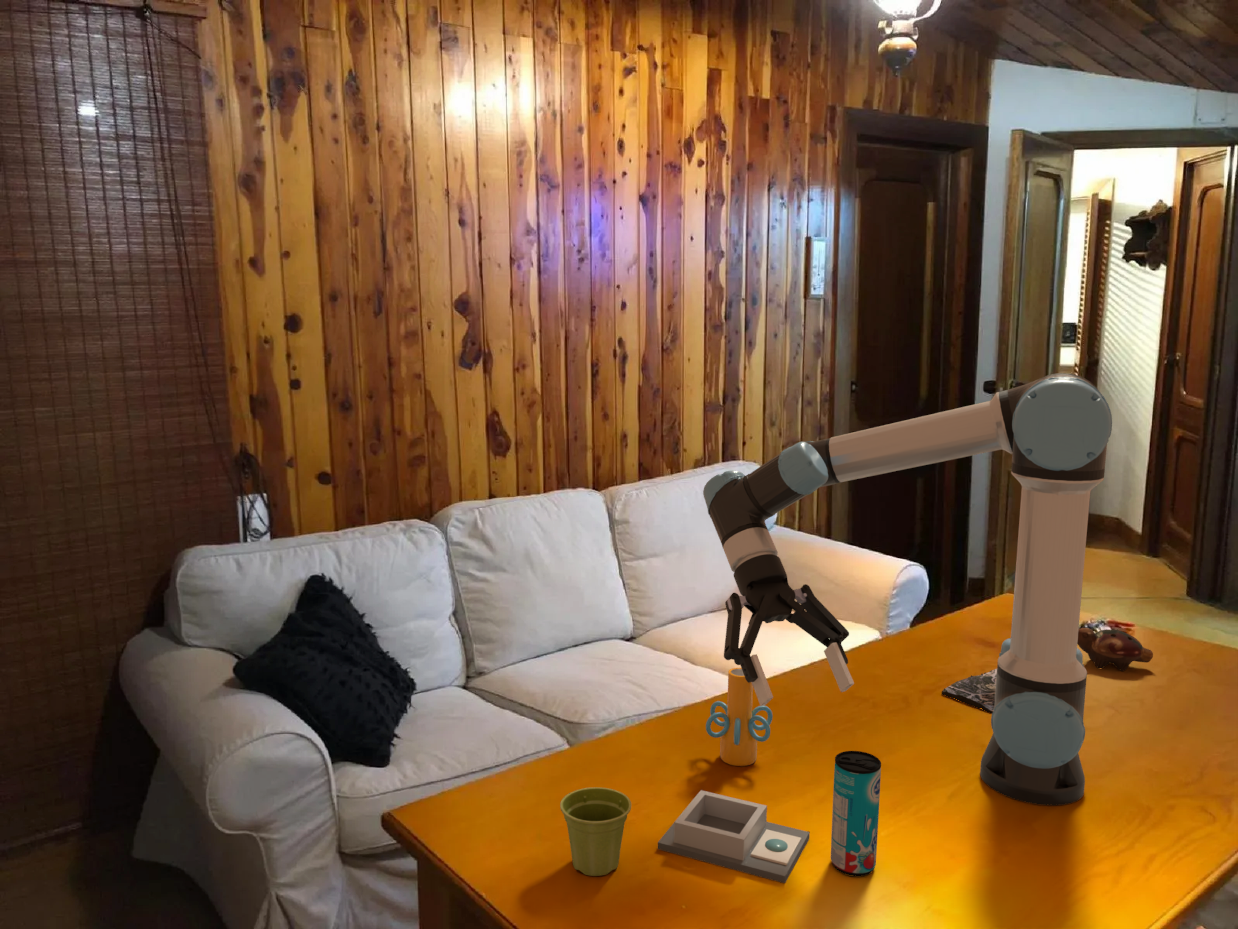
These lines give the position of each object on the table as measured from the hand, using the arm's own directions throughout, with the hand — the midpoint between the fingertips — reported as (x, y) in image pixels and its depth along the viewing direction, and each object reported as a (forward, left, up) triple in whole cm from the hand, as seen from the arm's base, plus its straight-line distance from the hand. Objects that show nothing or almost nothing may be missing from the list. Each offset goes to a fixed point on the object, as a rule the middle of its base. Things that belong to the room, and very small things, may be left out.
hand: (808, 695), depth 137 cm
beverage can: (-9, +7, -20) cm, 23 cm away
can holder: (+7, +9, -20) cm, 23 cm away
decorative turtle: (-41, -92, -20) cm, 103 cm away
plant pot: (+22, +22, -20) cm, 37 cm away
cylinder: (+15, -16, -20) cm, 30 cm away
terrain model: (-22, -65, -21) cm, 72 cm away
